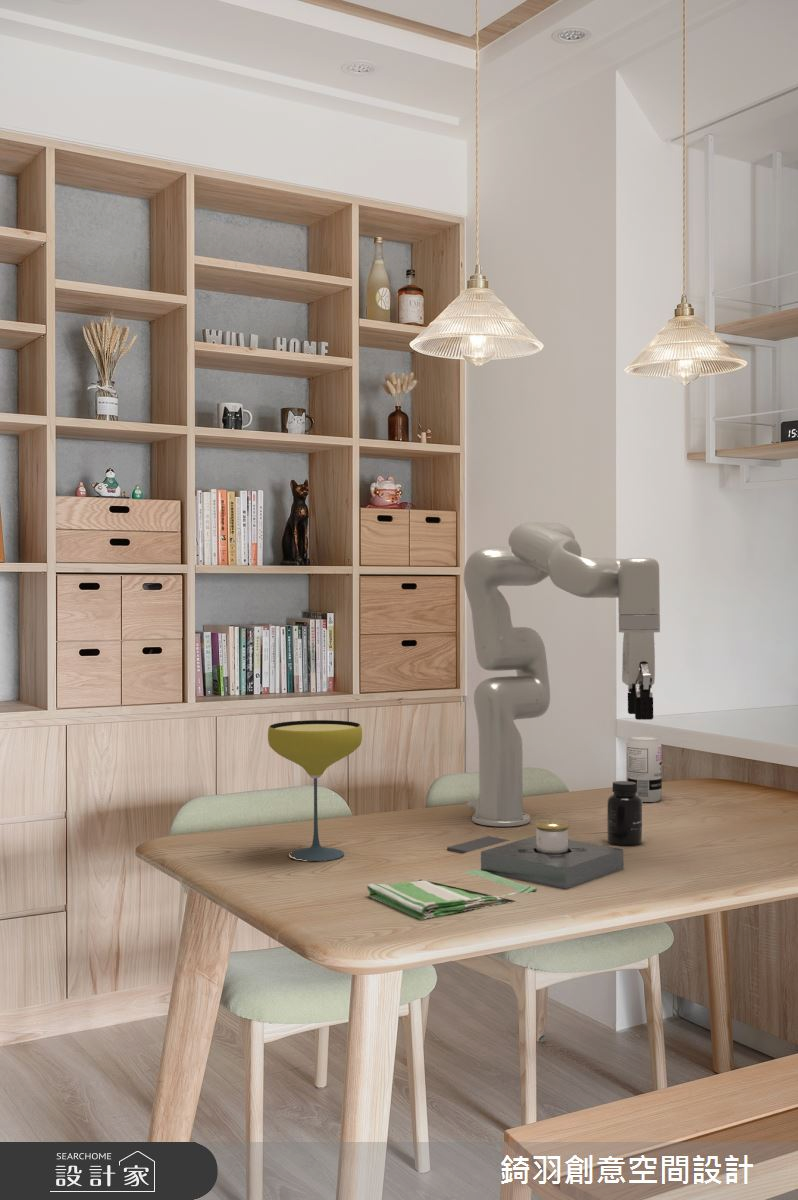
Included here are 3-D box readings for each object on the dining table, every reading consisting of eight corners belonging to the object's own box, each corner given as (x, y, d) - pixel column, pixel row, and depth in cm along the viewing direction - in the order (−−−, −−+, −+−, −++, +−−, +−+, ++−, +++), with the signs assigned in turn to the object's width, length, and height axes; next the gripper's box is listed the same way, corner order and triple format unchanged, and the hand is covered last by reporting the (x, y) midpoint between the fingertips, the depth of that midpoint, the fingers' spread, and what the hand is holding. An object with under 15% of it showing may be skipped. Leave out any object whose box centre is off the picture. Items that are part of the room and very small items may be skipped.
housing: (481, 876, 197) (480, 851, 197) (540, 858, 211) (540, 834, 211) (566, 895, 185) (566, 868, 185) (623, 874, 199) (623, 849, 198)
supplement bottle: (642, 847, 219) (642, 786, 219) (607, 845, 221) (606, 785, 221) (642, 839, 226) (641, 780, 226) (607, 838, 228) (607, 779, 227)
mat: (447, 850, 218) (447, 847, 218) (488, 839, 227) (488, 836, 227) (500, 860, 209) (500, 857, 209) (540, 848, 219) (540, 845, 219)
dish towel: (540, 900, 184) (539, 884, 184) (423, 924, 171) (423, 907, 171) (474, 877, 199) (474, 862, 199) (362, 898, 186) (362, 882, 186)
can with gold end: (529, 870, 198) (529, 823, 198) (548, 864, 202) (548, 818, 202) (556, 875, 194) (556, 827, 194) (575, 869, 198) (575, 822, 198)
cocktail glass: (270, 845, 223) (269, 720, 222) (360, 843, 224) (359, 719, 224) (267, 868, 205) (266, 732, 204) (365, 865, 206) (364, 730, 206)
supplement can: (622, 797, 272) (621, 736, 271) (655, 796, 272) (654, 735, 272) (632, 803, 264) (632, 740, 263) (666, 802, 264) (666, 739, 264)
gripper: (613, 623, 216) (614, 711, 216) (624, 625, 199) (626, 721, 199) (652, 623, 216) (653, 711, 216) (667, 625, 199) (668, 721, 199)
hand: (640, 716), depth 208 cm, fingers open, 9 cm apart
